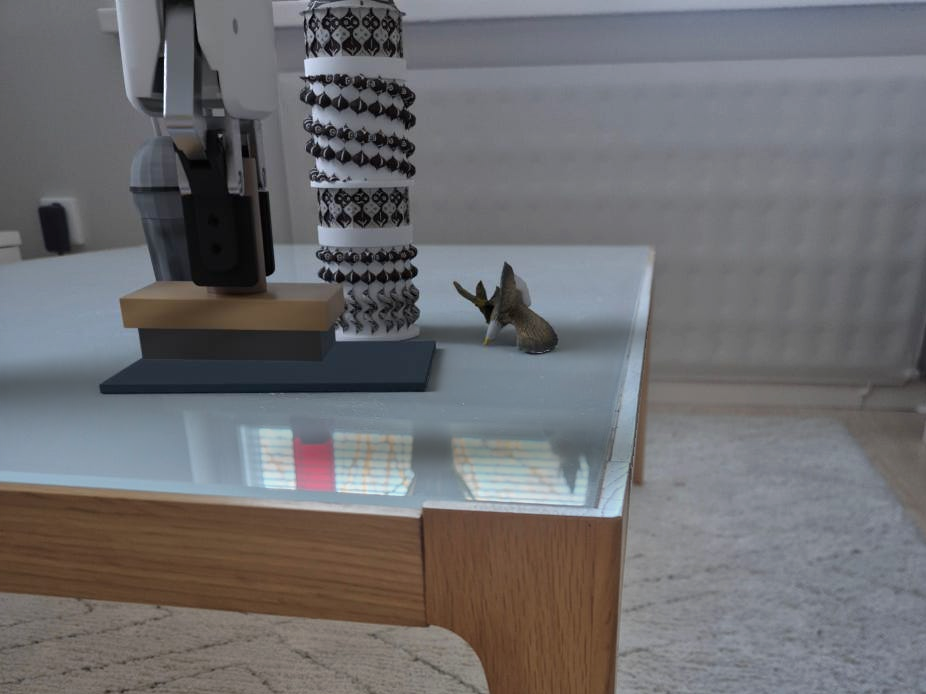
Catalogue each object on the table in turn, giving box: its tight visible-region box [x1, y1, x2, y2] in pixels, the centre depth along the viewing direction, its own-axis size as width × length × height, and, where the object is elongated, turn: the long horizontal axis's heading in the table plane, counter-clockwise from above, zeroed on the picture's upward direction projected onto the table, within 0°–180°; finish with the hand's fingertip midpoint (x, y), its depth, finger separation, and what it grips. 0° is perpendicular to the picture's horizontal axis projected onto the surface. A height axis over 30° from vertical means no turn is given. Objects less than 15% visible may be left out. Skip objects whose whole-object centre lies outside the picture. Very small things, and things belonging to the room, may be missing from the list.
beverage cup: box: [129, 117, 192, 282], centre depth 80 cm, size 7×7×20 cm
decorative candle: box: [297, 0, 421, 341], centre depth 76 cm, size 9×9×25 cm
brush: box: [118, 157, 345, 362], centre depth 47 cm, size 10×6×9 cm, turn 90°
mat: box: [98, 340, 437, 394], centre depth 70 cm, size 22×15×1 cm
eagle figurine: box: [452, 261, 559, 354], centre depth 76 cm, size 8×7×9 cm
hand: (235, 276), depth 47 cm, fingers closed on brush, 3 cm apart
